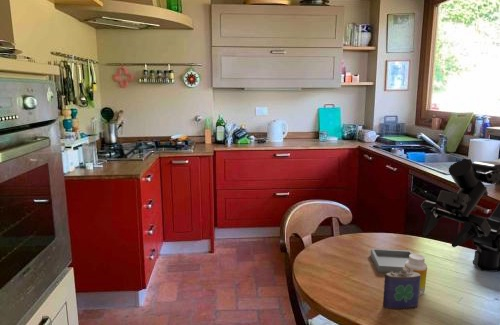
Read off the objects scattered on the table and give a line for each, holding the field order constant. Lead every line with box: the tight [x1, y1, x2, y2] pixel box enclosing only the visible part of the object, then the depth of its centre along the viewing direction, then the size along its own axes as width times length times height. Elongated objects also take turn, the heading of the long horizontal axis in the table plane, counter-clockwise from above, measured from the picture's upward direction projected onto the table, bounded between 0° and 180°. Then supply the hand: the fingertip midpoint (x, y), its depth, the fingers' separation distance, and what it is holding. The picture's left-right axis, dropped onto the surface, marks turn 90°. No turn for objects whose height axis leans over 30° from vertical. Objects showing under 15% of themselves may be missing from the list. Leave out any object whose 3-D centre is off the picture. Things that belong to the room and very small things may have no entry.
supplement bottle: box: [405, 253, 428, 296], centre depth 106 cm, size 6×6×10 cm
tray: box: [370, 248, 414, 275], centre depth 122 cm, size 13×13×2 cm
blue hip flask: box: [382, 267, 421, 311], centre depth 98 cm, size 9×3×11 cm, turn 95°
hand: (437, 240), depth 108 cm, fingers open, 9 cm apart
